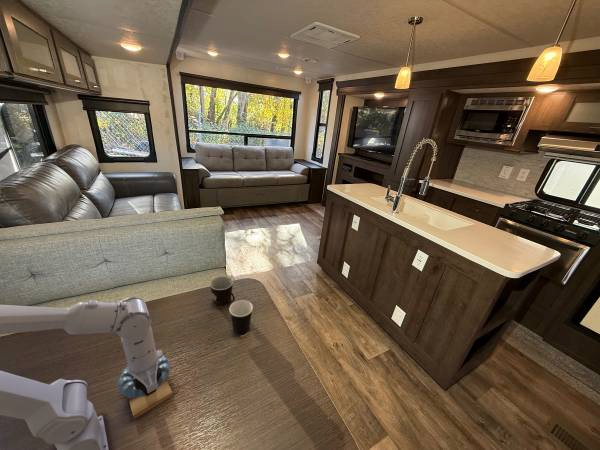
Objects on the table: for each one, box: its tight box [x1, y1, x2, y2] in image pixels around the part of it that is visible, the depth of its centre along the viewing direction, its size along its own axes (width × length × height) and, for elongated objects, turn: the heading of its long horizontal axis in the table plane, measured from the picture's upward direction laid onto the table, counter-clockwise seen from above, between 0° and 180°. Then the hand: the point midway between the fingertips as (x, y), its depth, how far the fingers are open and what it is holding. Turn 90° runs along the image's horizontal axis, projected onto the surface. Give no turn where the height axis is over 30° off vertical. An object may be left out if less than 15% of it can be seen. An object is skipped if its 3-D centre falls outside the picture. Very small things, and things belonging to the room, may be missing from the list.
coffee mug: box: [209, 275, 236, 307], centre depth 97 cm, size 12×9×10 cm
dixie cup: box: [228, 299, 254, 338], centre depth 86 cm, size 8×8×11 cm
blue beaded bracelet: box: [117, 355, 171, 399], centre depth 64 cm, size 11×11×3 cm
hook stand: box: [128, 378, 173, 420], centre depth 66 cm, size 9×9×6 cm
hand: (149, 386), depth 61 cm, fingers closed on blue beaded bracelet, 3 cm apart
